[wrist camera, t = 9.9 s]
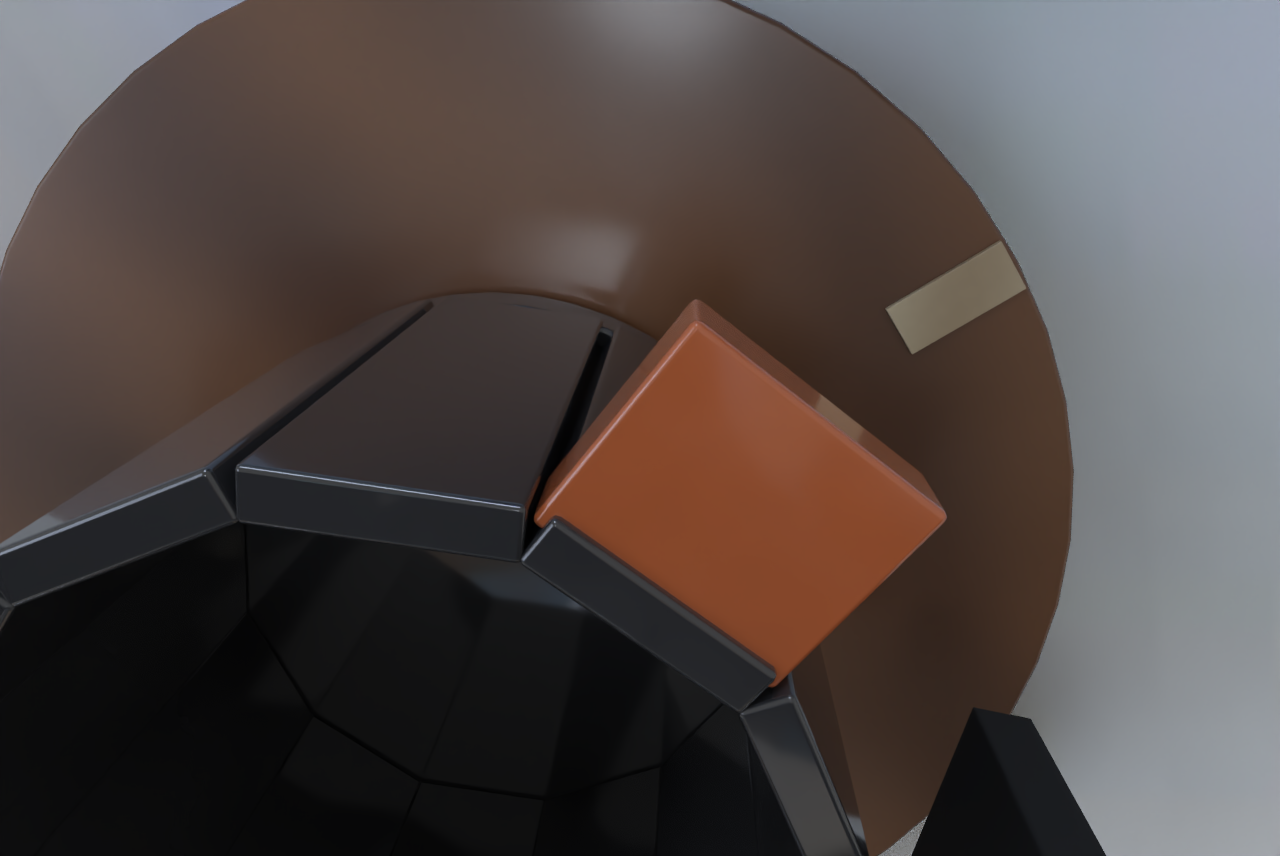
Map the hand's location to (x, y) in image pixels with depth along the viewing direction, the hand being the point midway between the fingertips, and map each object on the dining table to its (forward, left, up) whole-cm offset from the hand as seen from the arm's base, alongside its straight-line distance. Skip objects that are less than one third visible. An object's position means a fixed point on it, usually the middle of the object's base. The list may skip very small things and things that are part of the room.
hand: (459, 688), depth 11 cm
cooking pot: (0, 0, -3) cm, 3 cm away
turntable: (0, 0, -5) cm, 5 cm away
